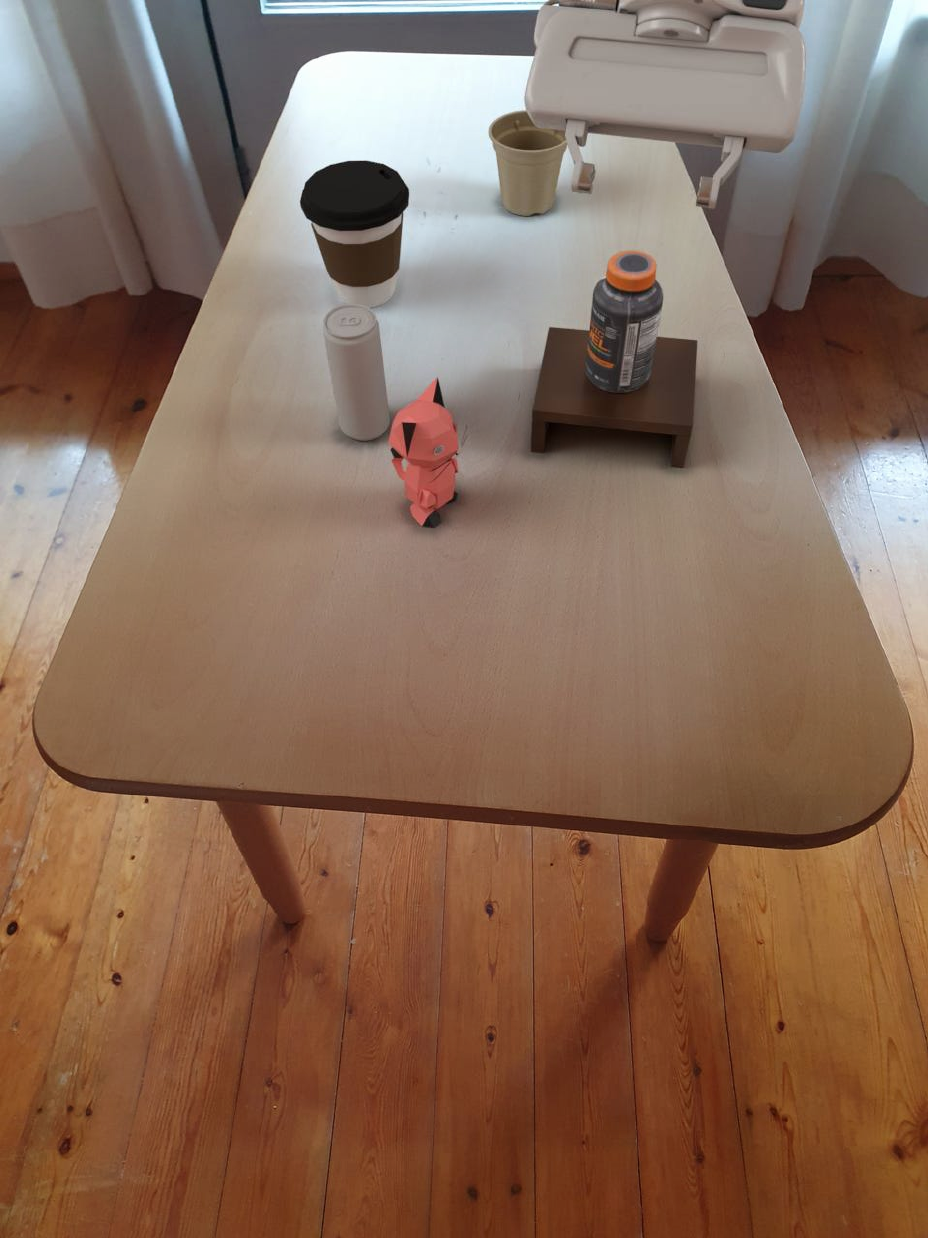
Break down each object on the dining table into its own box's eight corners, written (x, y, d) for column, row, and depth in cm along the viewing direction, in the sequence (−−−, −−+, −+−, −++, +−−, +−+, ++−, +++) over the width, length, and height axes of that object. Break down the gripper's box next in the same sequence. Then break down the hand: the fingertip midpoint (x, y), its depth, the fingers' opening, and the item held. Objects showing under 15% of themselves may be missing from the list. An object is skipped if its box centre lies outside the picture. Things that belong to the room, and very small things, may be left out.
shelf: (688, 382, 93) (697, 339, 89) (683, 467, 86) (693, 426, 82) (546, 368, 94) (549, 326, 90) (530, 451, 87) (532, 409, 83)
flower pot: (569, 183, 115) (574, 110, 108) (566, 226, 109) (571, 152, 102) (492, 180, 116) (492, 108, 109) (485, 223, 110) (484, 149, 103)
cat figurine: (444, 544, 81) (438, 439, 71) (375, 518, 83) (359, 413, 73) (481, 490, 85) (479, 384, 75) (413, 467, 86) (403, 360, 77)
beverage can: (388, 444, 88) (375, 337, 79) (337, 444, 89) (318, 337, 79) (392, 409, 91) (380, 302, 82) (342, 409, 91) (324, 302, 82)
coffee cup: (385, 251, 107) (374, 146, 97) (435, 299, 102) (429, 192, 92) (299, 284, 104) (279, 178, 94) (346, 335, 98) (330, 228, 89)
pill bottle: (574, 362, 87) (583, 250, 78) (632, 346, 88) (648, 234, 79) (602, 402, 84) (615, 290, 75) (662, 385, 85) (682, 273, 76)
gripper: (535, -34, 68) (502, 168, 70) (829, -11, 64) (783, 201, 67) (546, 10, 74) (515, 194, 76) (814, 32, 70) (773, 225, 73)
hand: (642, 198), depth 71 cm, fingers open, 8 cm apart
